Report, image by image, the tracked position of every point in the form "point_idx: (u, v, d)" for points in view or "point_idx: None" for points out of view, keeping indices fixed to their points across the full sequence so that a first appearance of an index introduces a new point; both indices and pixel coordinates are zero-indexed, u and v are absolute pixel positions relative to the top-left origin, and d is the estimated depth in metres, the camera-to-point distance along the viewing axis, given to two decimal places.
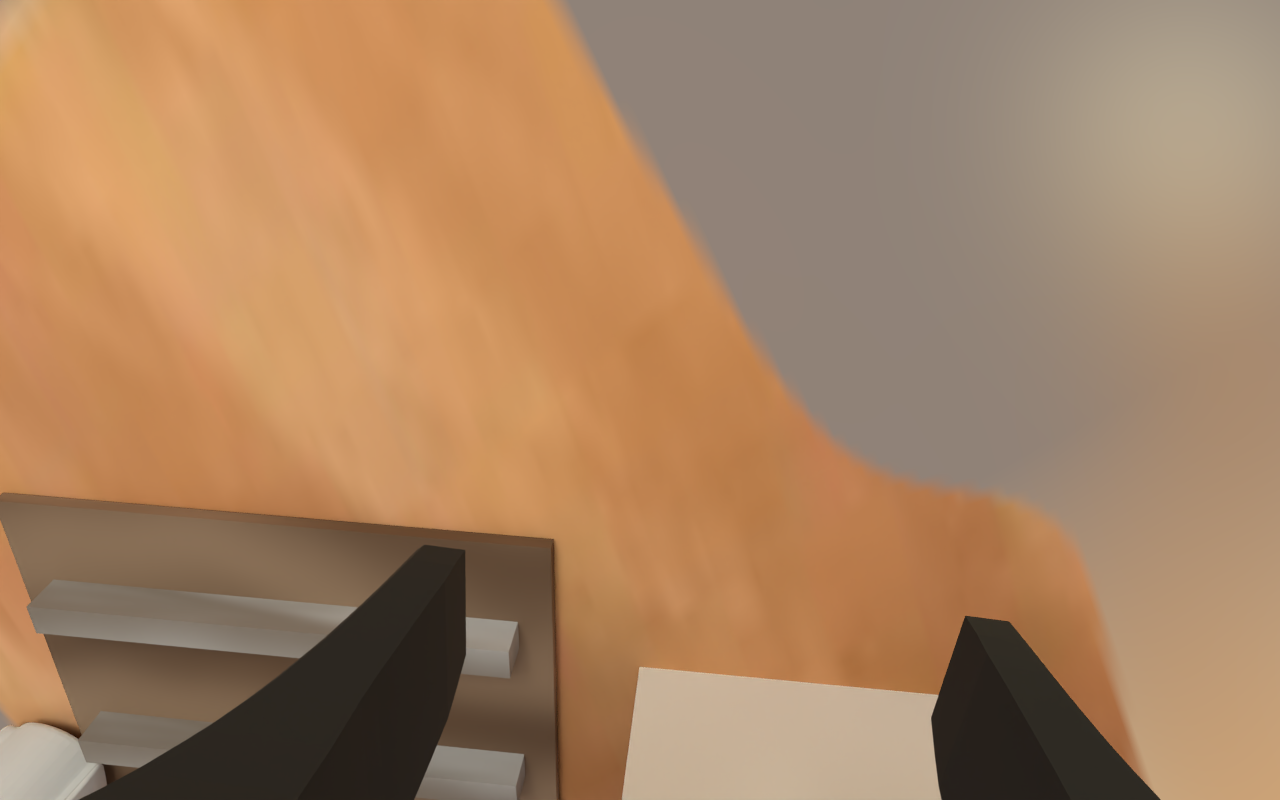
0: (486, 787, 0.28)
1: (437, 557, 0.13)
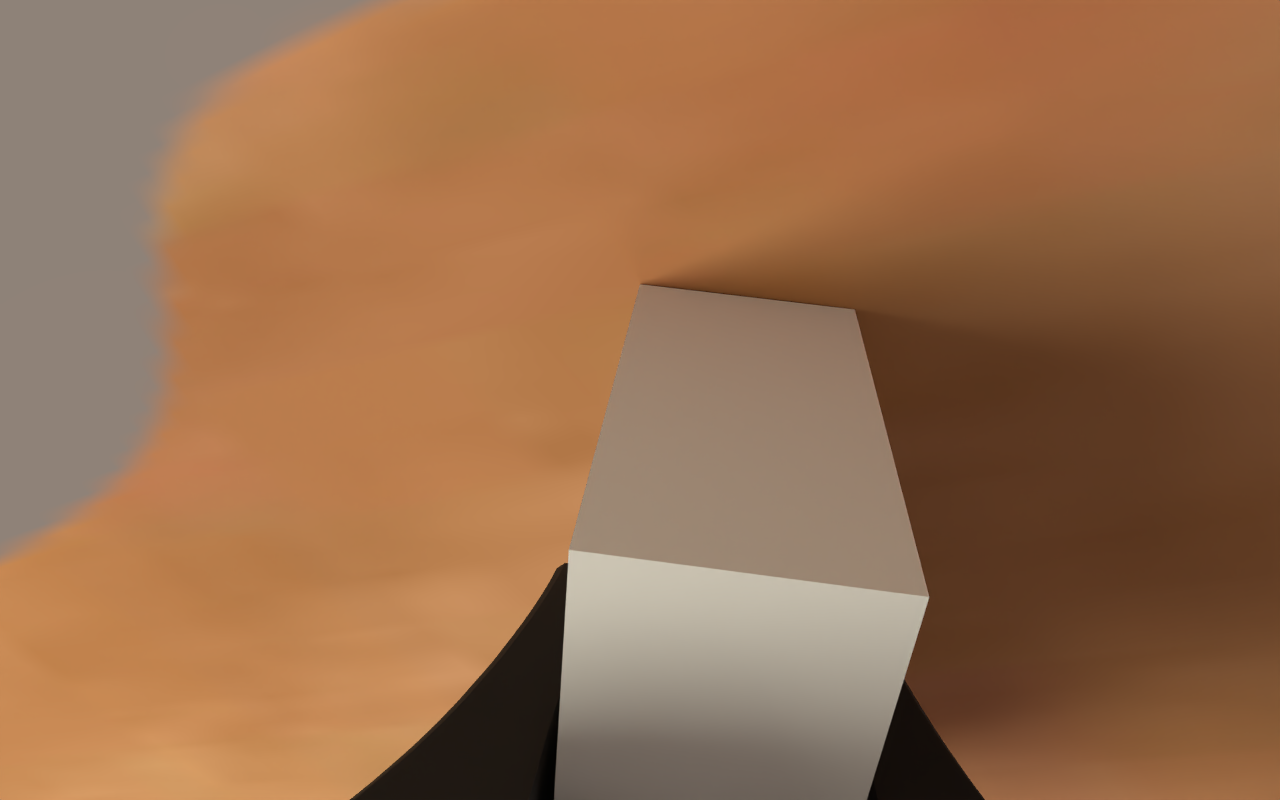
0: None
1: None
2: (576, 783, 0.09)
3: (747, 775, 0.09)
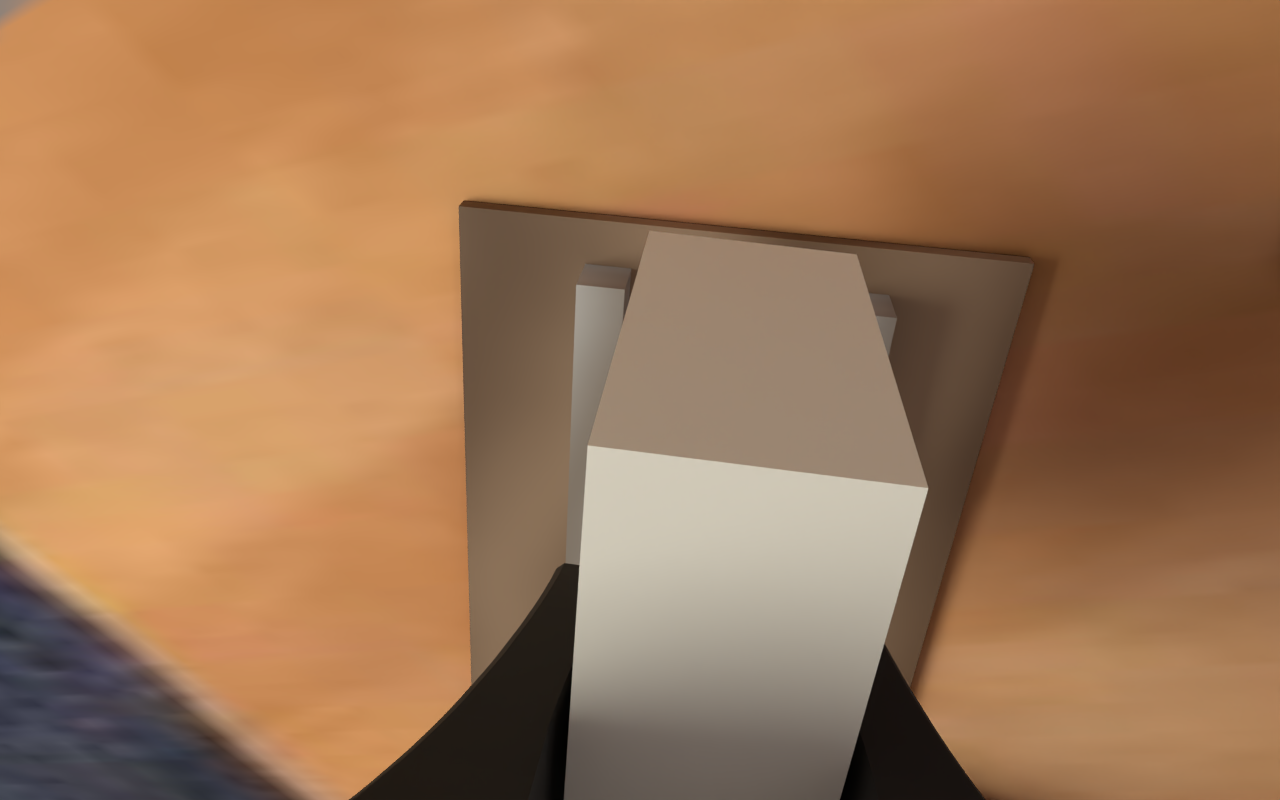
0: None
1: None
2: (592, 684, 0.10)
3: (756, 672, 0.09)
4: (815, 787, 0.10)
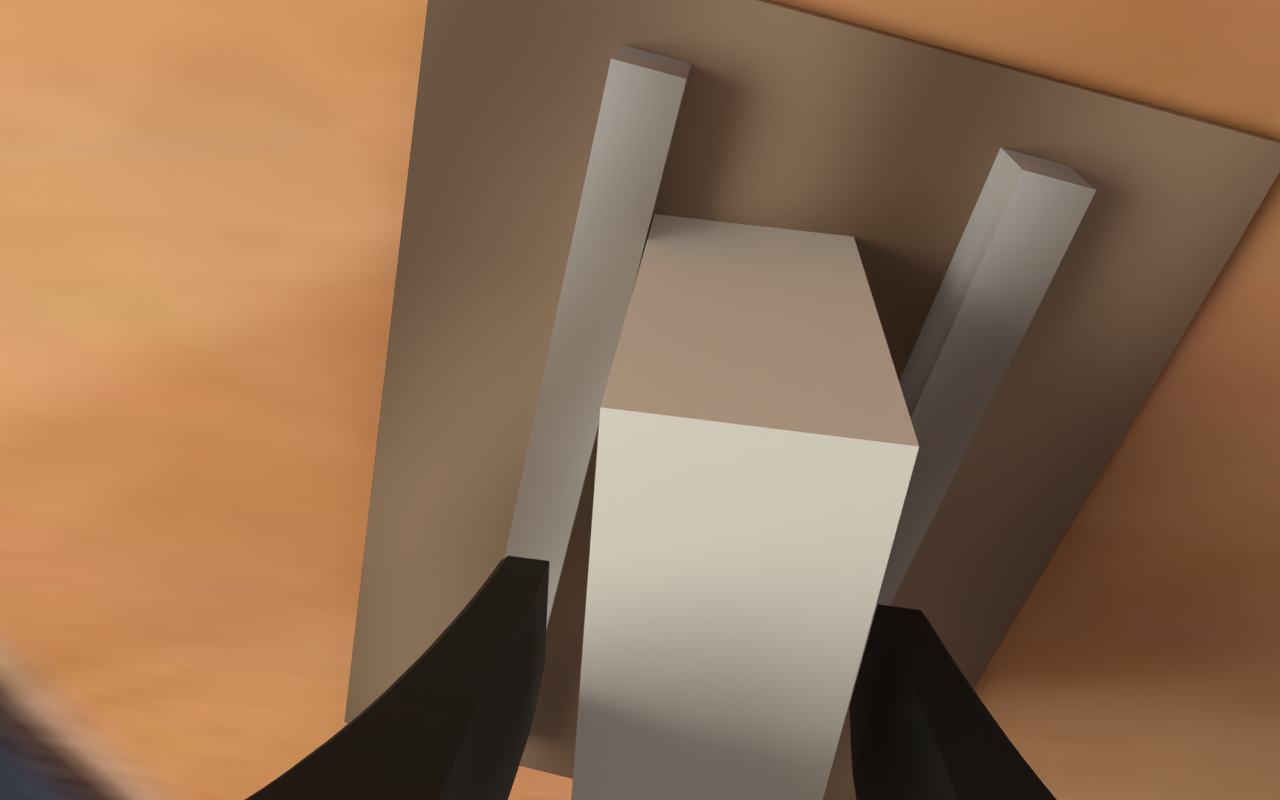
0: (1007, 239, 0.12)
1: (524, 569, 0.13)
2: (603, 637, 0.10)
3: (757, 624, 0.10)
4: (813, 736, 0.11)
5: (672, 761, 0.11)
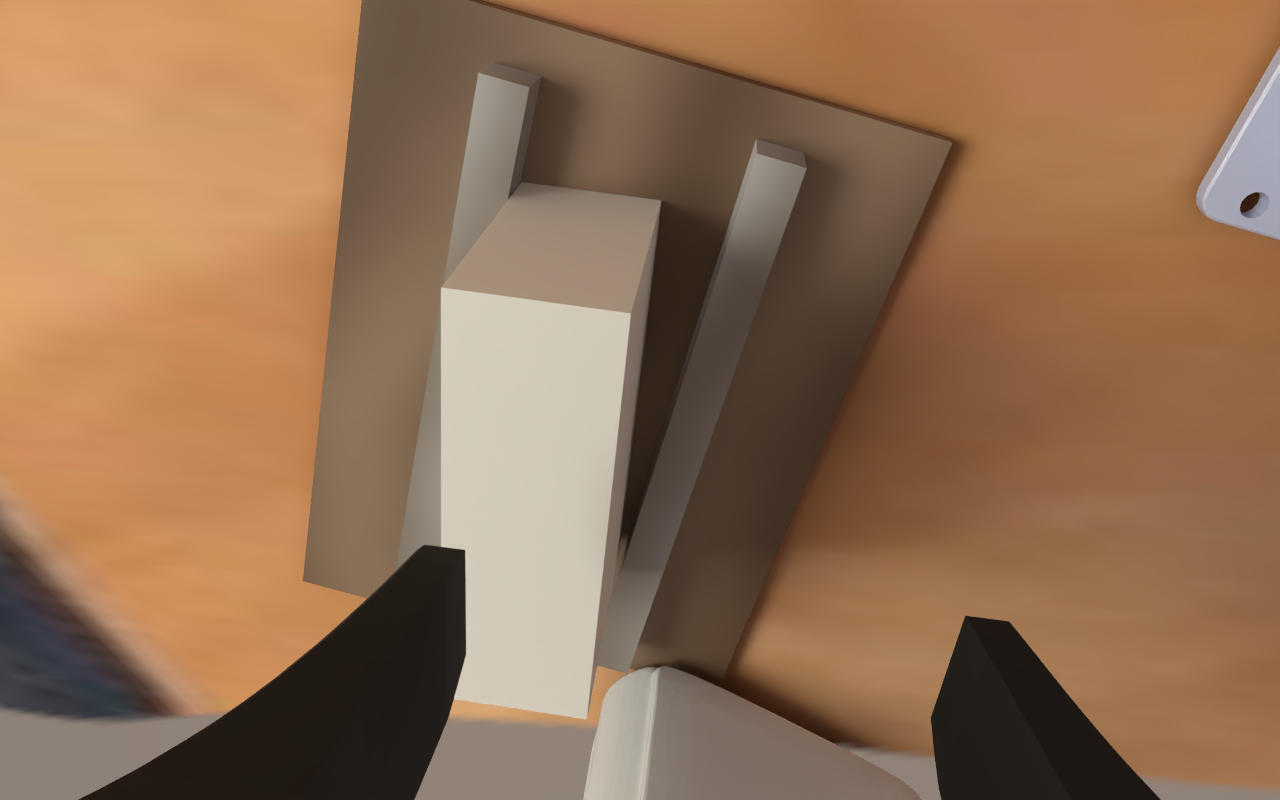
0: (752, 201, 0.18)
1: (437, 557, 0.13)
2: (453, 444, 0.16)
3: (548, 435, 0.16)
4: (592, 516, 0.16)
5: (504, 536, 0.17)
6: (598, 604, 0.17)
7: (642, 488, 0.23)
